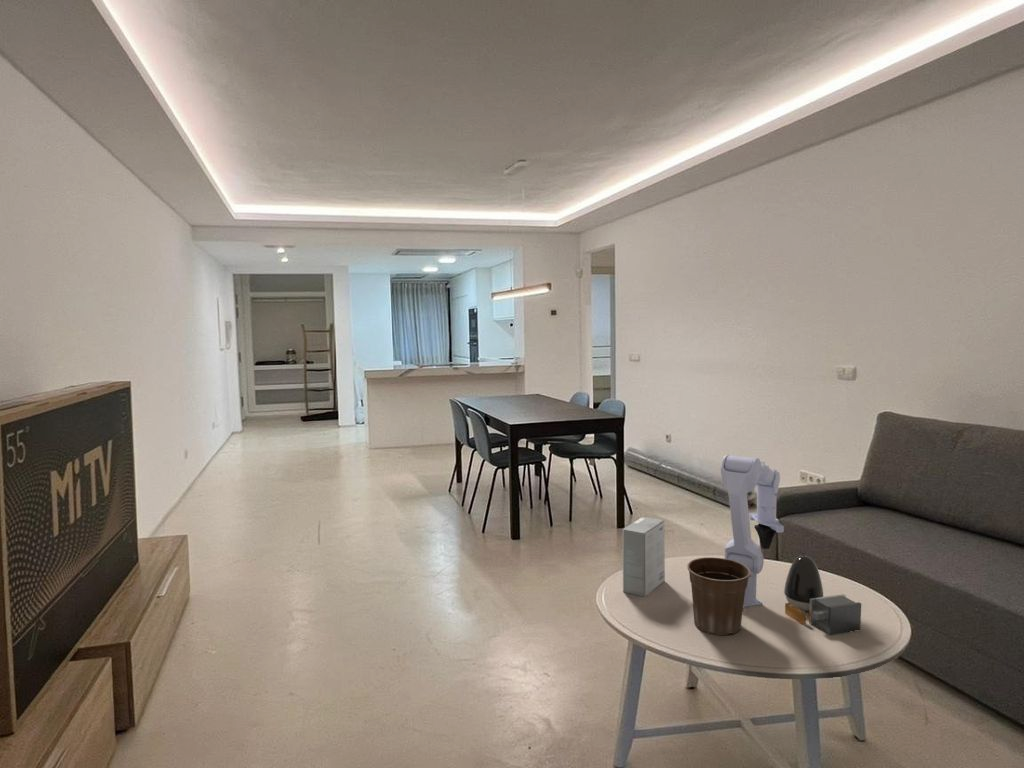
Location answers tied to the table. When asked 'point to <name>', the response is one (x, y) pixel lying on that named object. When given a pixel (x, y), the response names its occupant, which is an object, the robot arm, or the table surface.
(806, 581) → the dark grey egg shape
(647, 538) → the hard drive box
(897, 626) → the table surface
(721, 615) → the plant pot
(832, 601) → the motor
